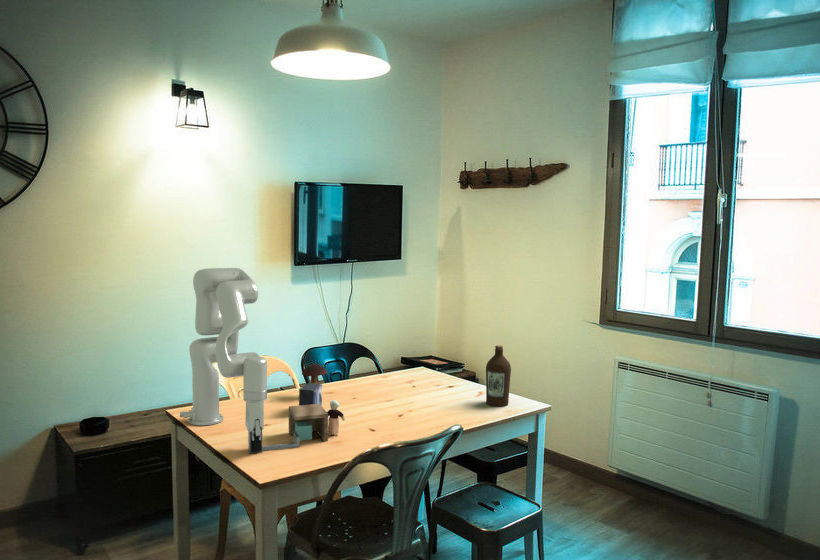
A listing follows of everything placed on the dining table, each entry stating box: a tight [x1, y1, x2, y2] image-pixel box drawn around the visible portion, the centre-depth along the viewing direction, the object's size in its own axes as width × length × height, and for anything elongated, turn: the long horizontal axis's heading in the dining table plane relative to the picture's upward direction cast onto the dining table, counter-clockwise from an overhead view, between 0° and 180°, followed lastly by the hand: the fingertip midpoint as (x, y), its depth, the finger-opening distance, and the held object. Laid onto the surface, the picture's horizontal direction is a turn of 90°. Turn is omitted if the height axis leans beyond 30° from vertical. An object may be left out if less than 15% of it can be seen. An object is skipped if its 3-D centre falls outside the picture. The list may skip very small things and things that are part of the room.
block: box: [295, 421, 313, 441], centre depth 225 cm, size 5×5×5 cm
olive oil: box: [485, 345, 512, 408], centre depth 272 cm, size 11×11×25 cm
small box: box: [298, 382, 323, 407], centre depth 255 cm, size 11×6×10 cm, turn 168°
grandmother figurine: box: [326, 399, 346, 437], centre depth 228 cm, size 8×4×13 cm, turn 93°
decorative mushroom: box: [301, 362, 328, 384], centre depth 276 cm, size 11×11×15 cm
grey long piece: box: [247, 429, 300, 455], centre depth 214 cm, size 16×6×7 cm, turn 111°
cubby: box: [288, 404, 329, 442], centre depth 225 cm, size 11×13×10 cm
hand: (255, 448), depth 211 cm, fingers closed on grey long piece, 4 cm apart
